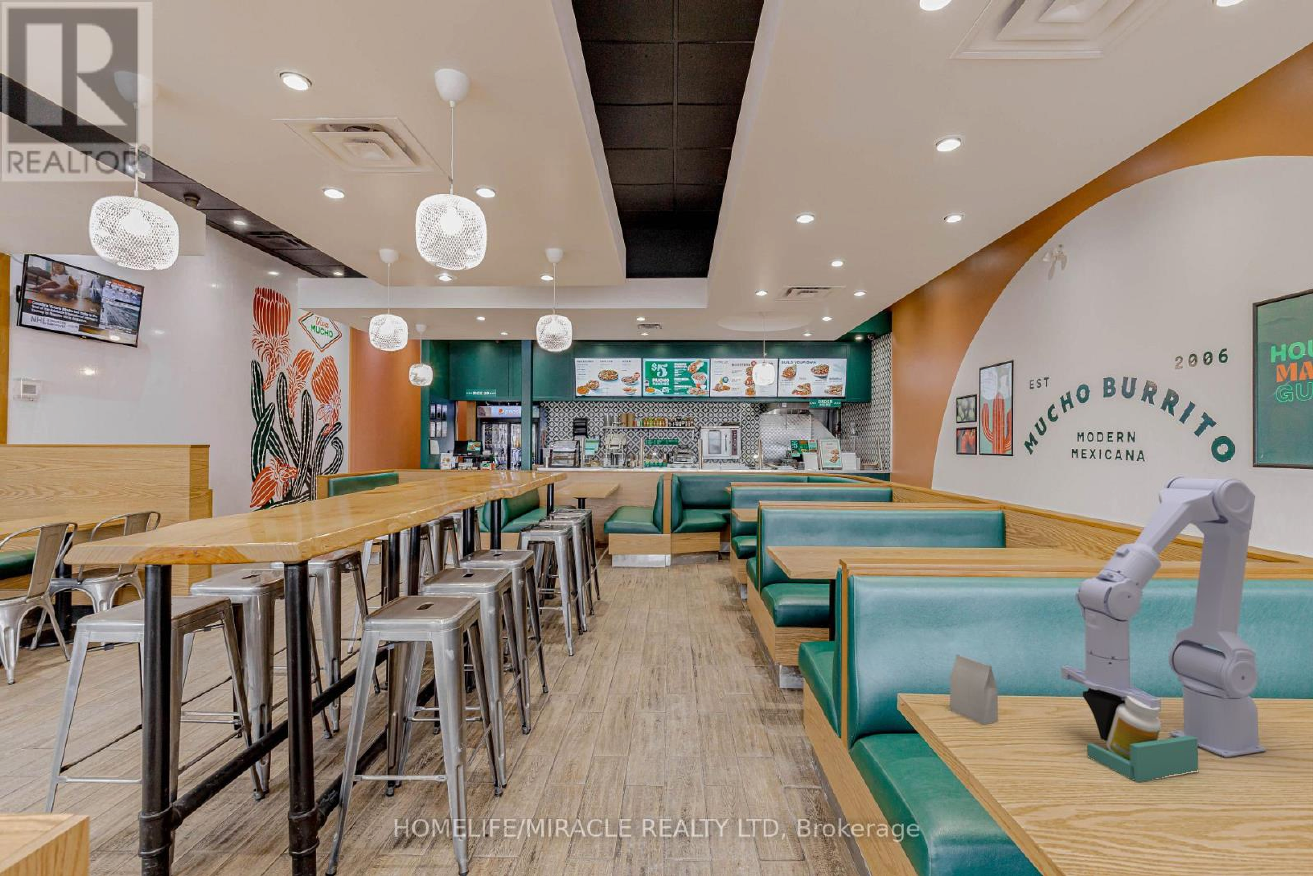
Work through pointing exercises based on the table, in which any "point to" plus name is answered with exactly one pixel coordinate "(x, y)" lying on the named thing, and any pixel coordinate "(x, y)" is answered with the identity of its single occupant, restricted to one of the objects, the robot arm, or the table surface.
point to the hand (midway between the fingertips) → (1108, 739)
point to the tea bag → (973, 691)
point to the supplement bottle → (1132, 726)
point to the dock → (1151, 758)
